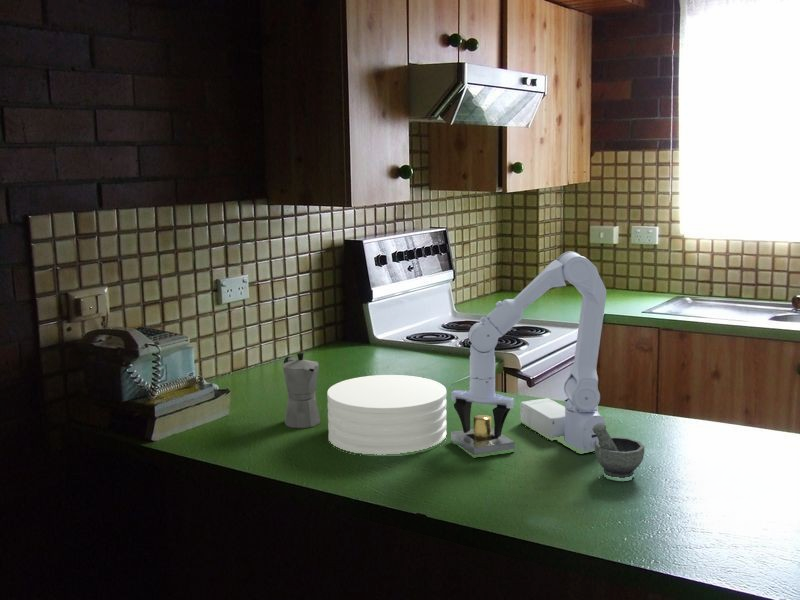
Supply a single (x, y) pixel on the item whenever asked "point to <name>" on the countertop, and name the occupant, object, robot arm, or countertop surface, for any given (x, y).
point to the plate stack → (386, 414)
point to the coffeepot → (301, 392)
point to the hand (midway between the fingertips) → (482, 434)
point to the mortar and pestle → (617, 453)
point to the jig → (481, 442)
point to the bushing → (482, 428)
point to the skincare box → (544, 416)
